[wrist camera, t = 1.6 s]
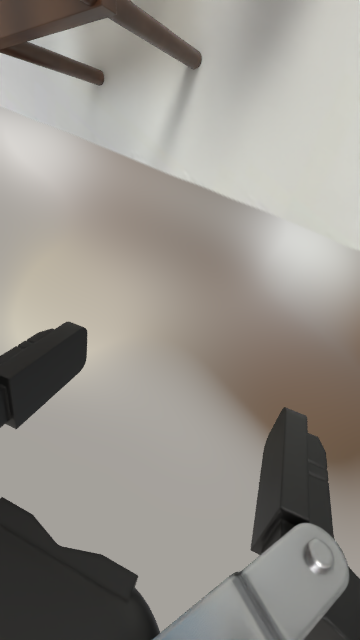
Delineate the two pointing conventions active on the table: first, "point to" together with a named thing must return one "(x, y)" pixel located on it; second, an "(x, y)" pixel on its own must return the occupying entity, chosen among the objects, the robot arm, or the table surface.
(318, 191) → the table surface
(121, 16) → the chair
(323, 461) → the robot arm
